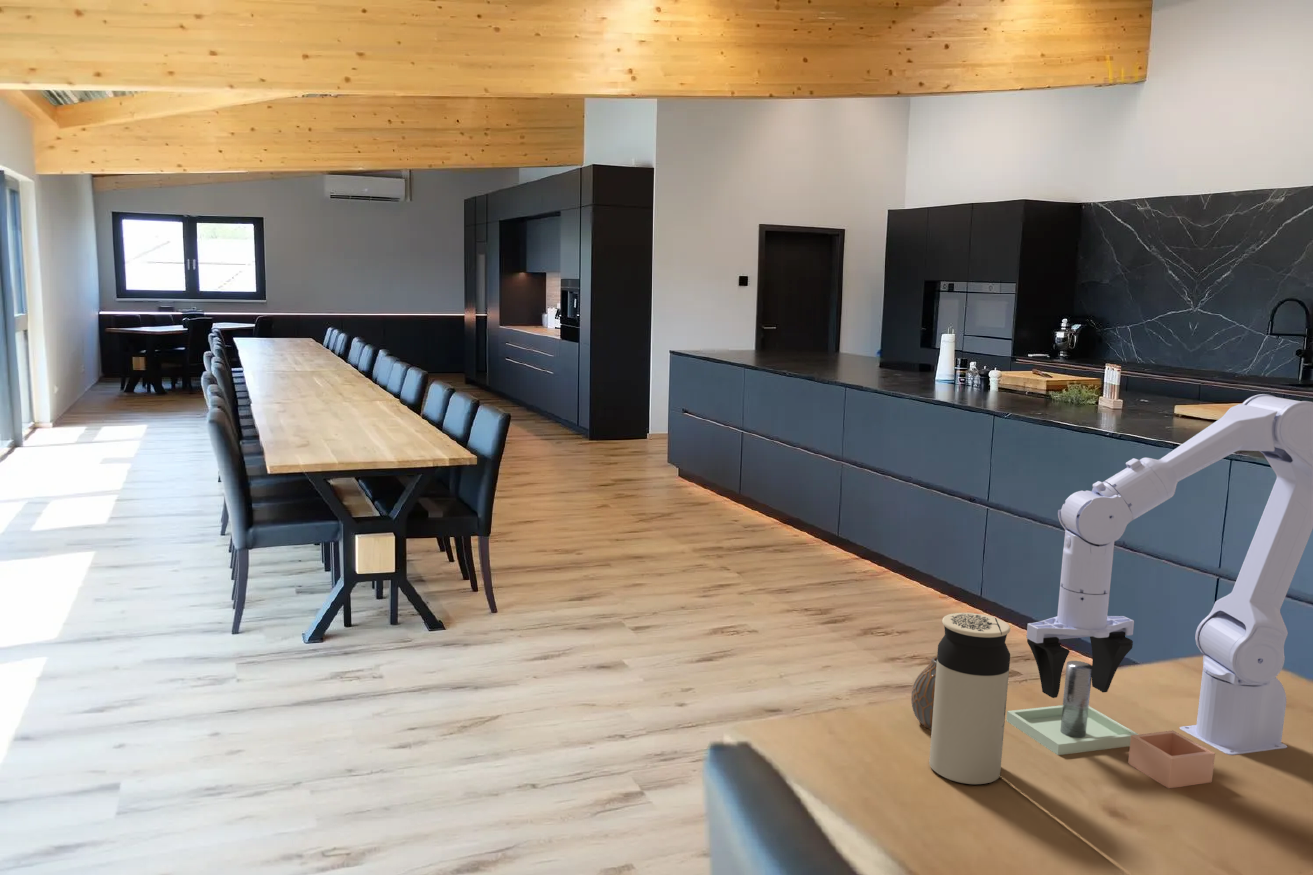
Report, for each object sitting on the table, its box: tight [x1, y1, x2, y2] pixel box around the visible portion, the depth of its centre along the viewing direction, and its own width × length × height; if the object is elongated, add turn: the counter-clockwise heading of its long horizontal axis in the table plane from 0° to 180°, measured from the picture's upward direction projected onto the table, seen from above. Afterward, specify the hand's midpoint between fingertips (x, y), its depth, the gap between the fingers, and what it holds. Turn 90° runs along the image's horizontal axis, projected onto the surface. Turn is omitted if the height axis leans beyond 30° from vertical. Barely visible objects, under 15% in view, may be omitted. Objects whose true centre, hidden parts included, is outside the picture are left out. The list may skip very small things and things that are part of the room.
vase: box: [911, 656, 937, 730], centre depth 129 cm, size 7×7×9 cm
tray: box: [1005, 704, 1140, 756], centre depth 127 cm, size 12×10×2 cm
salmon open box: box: [1127, 729, 1216, 789], centre depth 117 cm, size 6×6×4 cm
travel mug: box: [928, 612, 1011, 786], centre depth 116 cm, size 8×8×18 cm
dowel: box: [1060, 660, 1093, 738], centre depth 126 cm, size 3×3×9 cm
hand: (1074, 691), depth 127 cm, fingers open, 7 cm apart
